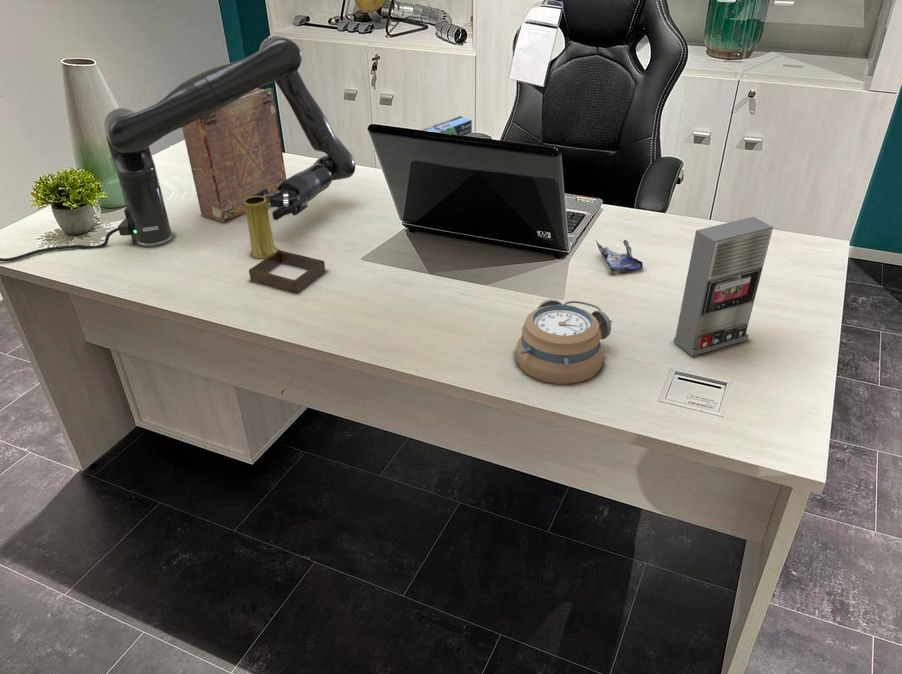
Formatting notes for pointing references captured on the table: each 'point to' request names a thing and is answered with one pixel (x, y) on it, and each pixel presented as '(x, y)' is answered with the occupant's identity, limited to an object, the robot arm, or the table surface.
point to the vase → (259, 227)
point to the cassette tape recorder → (722, 284)
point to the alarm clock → (562, 342)
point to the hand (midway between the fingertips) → (260, 213)
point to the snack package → (620, 259)
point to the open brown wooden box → (295, 286)
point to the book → (235, 154)
